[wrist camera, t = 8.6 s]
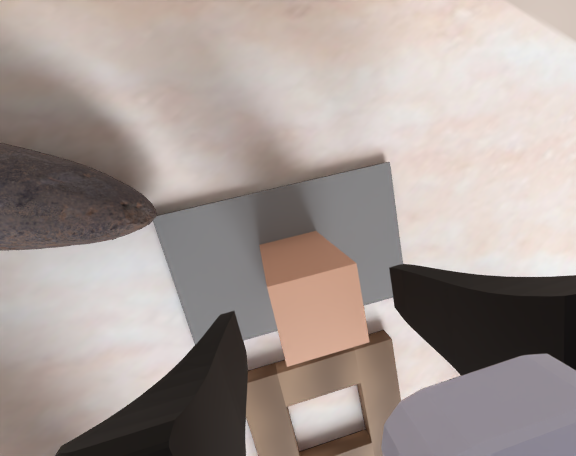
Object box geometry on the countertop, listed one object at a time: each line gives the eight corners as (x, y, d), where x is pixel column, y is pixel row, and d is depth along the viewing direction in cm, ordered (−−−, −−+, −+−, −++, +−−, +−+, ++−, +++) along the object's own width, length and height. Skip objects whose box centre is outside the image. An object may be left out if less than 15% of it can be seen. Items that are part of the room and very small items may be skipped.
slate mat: (199, 348, 19) (198, 353, 19) (154, 216, 17) (151, 217, 17) (402, 289, 21) (406, 293, 20) (385, 162, 19) (389, 162, 18)
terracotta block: (272, 297, 19) (286, 366, 12) (259, 244, 18) (267, 287, 11) (326, 283, 19) (369, 342, 13) (316, 230, 18) (356, 263, 12)
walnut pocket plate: (272, 490, 23) (274, 507, 22) (237, 374, 20) (236, 386, 19) (401, 444, 24) (409, 458, 23) (383, 330, 22) (391, 338, 20)
